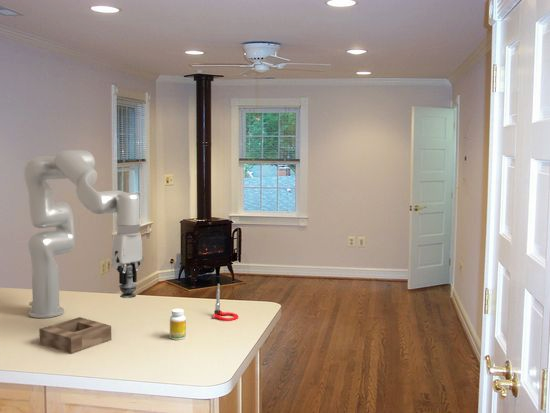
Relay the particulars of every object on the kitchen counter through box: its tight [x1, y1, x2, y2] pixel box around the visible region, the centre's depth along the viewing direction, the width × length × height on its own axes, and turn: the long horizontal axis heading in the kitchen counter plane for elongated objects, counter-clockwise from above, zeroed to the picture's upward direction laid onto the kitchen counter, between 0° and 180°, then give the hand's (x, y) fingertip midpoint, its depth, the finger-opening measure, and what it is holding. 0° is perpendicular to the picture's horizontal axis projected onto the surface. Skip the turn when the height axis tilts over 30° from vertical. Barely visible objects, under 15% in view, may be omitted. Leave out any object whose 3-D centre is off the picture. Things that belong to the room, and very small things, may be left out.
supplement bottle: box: [169, 308, 187, 341], centre depth 204 cm, size 5×5×10 cm
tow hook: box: [211, 283, 239, 322], centre depth 227 cm, size 8×13×9 cm
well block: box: [39, 316, 112, 355], centre depth 198 cm, size 16×16×5 cm
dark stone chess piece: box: [118, 263, 138, 299], centre depth 204 cm, size 6×6×12 cm
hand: (128, 282), depth 204 cm, fingers closed on dark stone chess piece, 3 cm apart
